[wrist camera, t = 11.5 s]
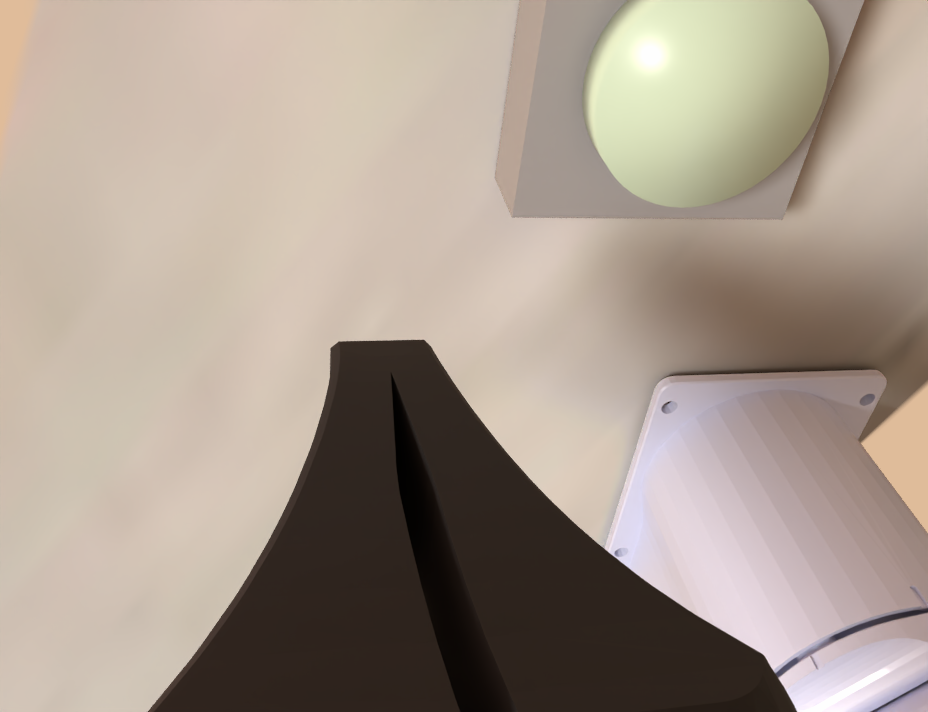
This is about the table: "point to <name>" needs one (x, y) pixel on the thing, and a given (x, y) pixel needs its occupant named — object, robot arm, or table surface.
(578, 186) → the button housing
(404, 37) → the table surface
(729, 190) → the button
